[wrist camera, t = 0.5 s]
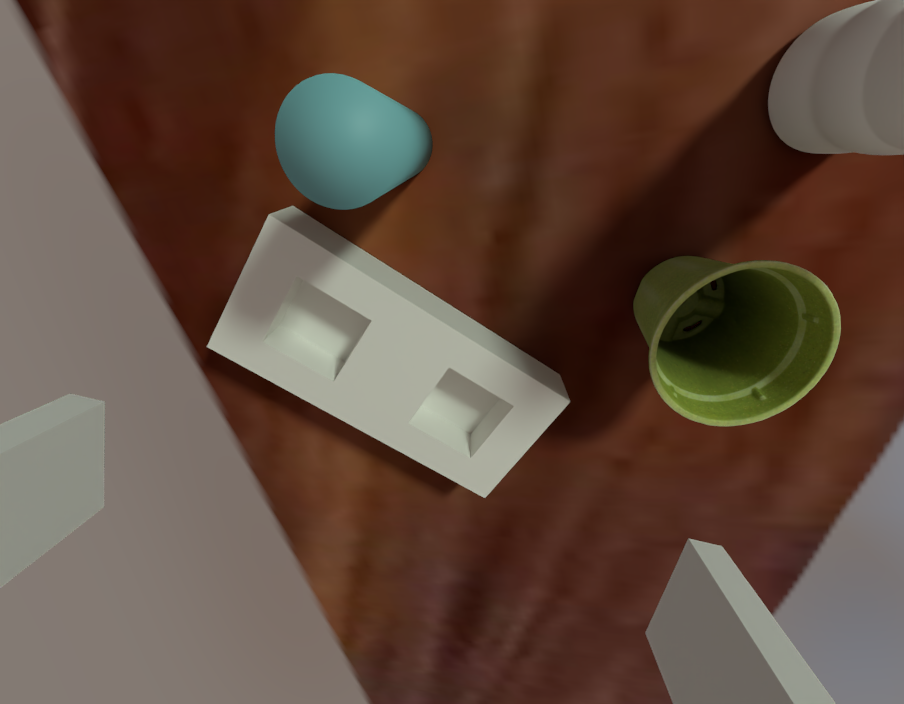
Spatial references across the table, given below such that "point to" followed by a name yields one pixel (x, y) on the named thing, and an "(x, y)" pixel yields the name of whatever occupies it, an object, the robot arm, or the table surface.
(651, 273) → the plant pot
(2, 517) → the robot arm
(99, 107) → the table surface
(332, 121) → the teal pin
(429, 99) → the table surface
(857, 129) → the water bottle
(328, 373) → the hole block
